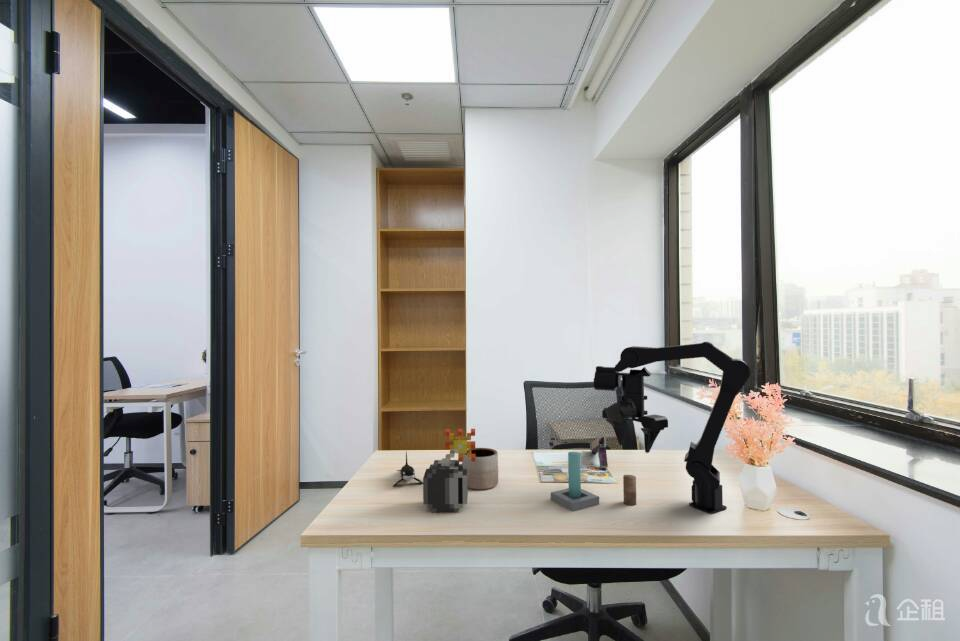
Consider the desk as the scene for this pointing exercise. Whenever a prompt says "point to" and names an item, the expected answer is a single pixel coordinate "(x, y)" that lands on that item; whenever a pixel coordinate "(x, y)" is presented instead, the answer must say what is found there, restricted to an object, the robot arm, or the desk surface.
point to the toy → (407, 473)
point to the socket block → (576, 504)
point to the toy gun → (600, 450)
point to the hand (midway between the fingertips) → (633, 448)
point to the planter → (482, 468)
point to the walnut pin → (629, 490)
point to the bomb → (449, 476)
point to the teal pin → (574, 475)
